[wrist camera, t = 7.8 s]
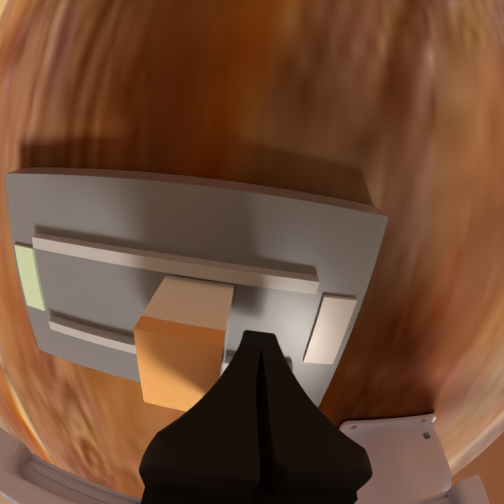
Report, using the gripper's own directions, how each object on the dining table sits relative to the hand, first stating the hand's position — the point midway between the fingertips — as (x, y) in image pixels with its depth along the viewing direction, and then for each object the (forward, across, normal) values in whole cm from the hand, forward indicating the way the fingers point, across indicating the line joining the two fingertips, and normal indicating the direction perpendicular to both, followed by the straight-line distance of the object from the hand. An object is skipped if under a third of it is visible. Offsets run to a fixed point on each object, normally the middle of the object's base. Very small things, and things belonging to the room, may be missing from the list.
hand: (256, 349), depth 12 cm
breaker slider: (+2, +3, 0) cm, 3 cm away
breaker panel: (+4, +5, 0) cm, 6 cm away
